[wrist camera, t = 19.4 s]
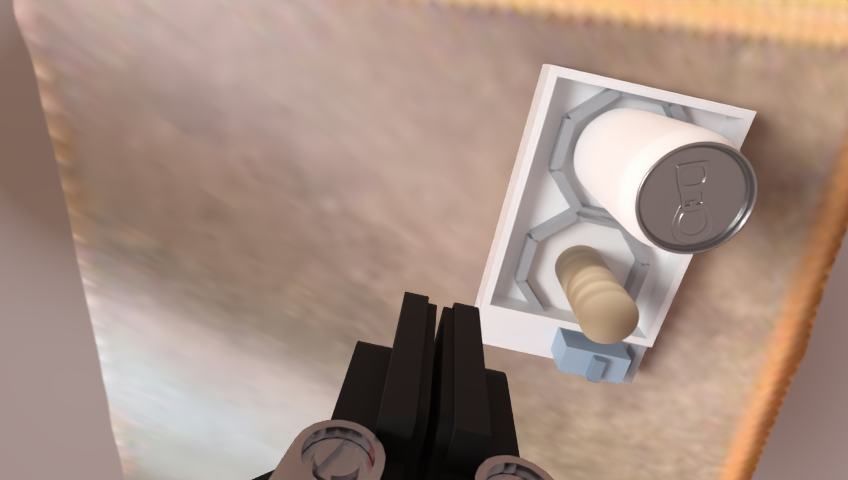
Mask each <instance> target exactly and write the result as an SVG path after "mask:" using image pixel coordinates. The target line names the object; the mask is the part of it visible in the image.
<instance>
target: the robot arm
mask: <svg viewBox="0 0 848 480" xmlns="http://www.w3.org/2000/svg"><path fill="white" fill-rule="evenodd" d="M428 300H429V297H428V296H423V295H419V294H414V293H409V292H405V294H404V299H403V303H402V308H401V312H400V317H399V321H398V326H397V330H396V335H395V339H394V344H393V348H389V347H384V346H380V345H375V344H371V343H366V342H361V341H358V342H357V344H356V347H355V350H354V353H353V356H352V359H351V362H350V365H349V368H348V371H347V374H346V377H345V380H344V383H343V385H342V388H341V391H340V394H339V397H338V400H337V403H336V406H335V409H334V412H333V415H332V418H331V420H326V421H322V422H318V423H314V424H313V425H311V426H309V427H307V428H306V429H304V430H303V431H302V432H301V433H300V434H299V435H298V436H297V437H296V438H295V440H294V441H293V443H292V444H291V446H290V447H289V449H288V450H287V452H286V454H285V455H284V457H283V458H282V460H281V461H280V463H279V464H278V466H277V467H276V469H275V470H273V471H271V472H268V473H266V474H264V475H261V476H259V477H257V478H255V479H252V480H554V479H553V478H552V477H551V476H550V475H549V474H548V473H547V472H546V471H544V470H543V469H541V468H540V467H539V466H537V465H536V464H534V463H532V462H529V461H527V460H525V459H523V458H520V456H519V450H518V444H517V438H516V431H515V425H514V419H513V413H512V407H511V401H510V395H509V388H508V382H507V377H506V374H505V373H504V372H500V371H496V370H491V369H486V368H485V363H484V353H483V343H482V332H481V322H480V312H479V308H478V307H474V306H469V305H464V304H460V303H454V305H453V307H452V308H448V307H444V308H443V311H442V315H441V319H440V322H439V326H438V330H437V334H436V338H435V326H436V311H437V305H435V304H430V303H428ZM434 340H435V342H434Z"/></svg>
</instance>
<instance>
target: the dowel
mask: <svg viewBox="0 0 848 480" xmlns="http://www.w3.org/2000/svg"><path fill="white" fill-rule="evenodd" d="M555 273H556V276H557V278H558V280H559V283H560V285H561V287H562V289H563V291H564V293H565V295H566V298H567V300H568V302H569V304H570V306H571V308H572V311H573V313H574V315H575V317H576V319H577V321H578V323H579V326H580V328H581V330H582V332H583V333H584V335H585V336H586V337H587V338H589V339H590V340H592V341H594V342H596V343H600V344H613V343H617V342H620V341H622V340H624V339H626V338H627V337H629V336H630V335H631V334H632V333H633V332H634V330H635V329H636V327H637V325H638V322H639V310H638V308H637V306H636V304H635V303H634V301H633V300H632V298H631V297H630V296H629V294H628V293H627V292H626V290H625V289H624V287H623V286H622V285H621V283H620V282H619V281H618V279H617V278H616V277H615V275H614V274H613V272H612V271H611V270H610V268H609V267H608V266H607V264H606V263H605V261H604V260H603V259H602V257H601V256H600V255H599V253H598V252H597V251H596V250H595V249H593V248H591V247H589V246H585V245H576V246H572V247H570V248H567V249H566V250H564V251H563V252H562V253H561V254H560V255H559V257H558V258H557V260H556V263H555Z"/></svg>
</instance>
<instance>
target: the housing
mask: <svg viewBox="0 0 848 480" xmlns="http://www.w3.org/2000/svg"><path fill="white" fill-rule="evenodd" d="M618 108H636V109H640V110H644V111H648V112H652V113H655V114H659V115H662V116H666V117H669V118H673V119H676V120H679V121H683V122H686V123H690V124H693V125H696V126H699V127H703V128H706V129H709V130H711V131H714V132H716V133H719V134H721V135H722V136H724V137H726V138H727V139H729V140H730V141H731V142H732V143H733V144H734V145H735V146H736V147H737V148H738V149H739V150H740V148H741V146H742V144H743V141H744V139H745V137H746V135H747V133H748V130H749V128H750V126H751V124H752V121H753V119H754V117H755V115H756V111H752V110H747V109H743V108H738V107H734V106H730V105H725V104H721V103H717V102H712V101H708V100H704V99H699V98H695V97H690V96H686V95H682V94H677V93H673V92H669V91H664V90H660V89H656V88H651V87H647V86H642V85H638V84H634V83H629V82H625V81H621V80H616V79H612V78H608V77H603V76H599V75H594V74H590V73H586V72H581V71H577V70H573V69H568V68H564V67H560V66H555V65H550V64H543V66H542V70H541V73H540V77H539V80H538V84H537V87H536V91H535V94H534V98H533V101H532V105H531V108H530V112H529V115H528V119H527V123H526V126H525V130H524V133H523V137H522V140H521V144H520V147H519V151H518V154H517V158H516V161H515V165H514V168H513V172H512V176H511V179H510V183H509V186H508V190H507V193H506V197H505V200H504V204H503V207H502V211H501V214H500V218H499V221H498V225H497V228H496V232H495V236H494V239H493V243H492V246H491V250H490V253H489V257H488V260H487V264H486V267H485V271H484V274H483V278H482V281H481V285H480V289H479V292H478V296H477V299H476V303H475V306H474V307H478V308H479V312H480V322H481V332H482V343H483V344H488V345H493V346H497V347H502V348H506V349H511V350H516V351H520V352H525V353H529V354H534V355H539V356H543V357H548V358H553V359H554V357H553V354H552V351H551V347H552V344H553V341H554V338H555V335H556V333H557V330H558V327H561V328H565V329H570V330H574V331H579V332H582V330H581V328H580V326H579V323H578V321H577V319H576V317H575V315H574V313H573V311H572V308H571V306H570V304H569V302H568V300H567V298H566V295H565V293H564V291H563V289H562V287H561V285H560V283H559V280H558V278H557V276H556V273H555V263H556V260H557V258H558V257H559V255H560V254H561V253H562V252H563V251H564V250H566V249H567V248H570V247H572V246H576V245H585V246H589V247H591V248H593V249H595V250H596V251H597V252H598V253H599V255H600V256H601V257H602V259H603V260H604V261H605V263H606V264H607V266H608V267H609V268H610V270H611V271H612V272H613V274H614V275H615V277H616V278H617V279H618V281H619V282H620V283H621V285H622V286H623V287H624V289H625V290H626V292H627V293H628V294H629V296H630V297H631V298H632V300H633V301H634V303H635V304H636V306H637V308H638V310H639V322H638V325H637V327H636V329H635V330H634V332H633V333H632V334H631V335H630V336H629V337H627V338H626V339H624V340H622V341H620V342H621V344H622V345H623V347H624V349H625V350H626V352H627V354H628V356H629V357H630V359H631V362H630V365H629V367H628V369H627V372H626V374H625V376H624V379H623V381H624V382H628V383H632V380H633V378H634V376H635V374H636V371H637V369H638V367H639V365H640V362H641V360H642V358H643V356H644V353H645V351H646V349H647V346H648V347H652V346H653V343H654V341H655V339H656V337H657V334H658V332H659V330H660V328H661V326H662V323H663V321H664V319H665V317H666V314H667V312H668V310H669V308H670V305H671V303H672V301H673V299H674V296H675V294H676V292H677V290H678V287H679V285H680V283H681V281H682V278H683V276H684V274H685V272H686V269H687V267H688V265H689V263H690V260H691V258H692V256H693V254H676V253H671V252H668V251H665V250H662V249H657V248H654V247H651V246H648V245H646V244H644V243H642V242H641V241H639V240H638V239H636V238H635V237H634V236H632V235H631V234H630V233H629V232H628V231H627V230H626V229H625V228H624V227H623V226H622V225H621V224H620V223H619V222H618V221H617V220H616V219H615V218H614V217H613V216H612V215H611V214H610V213H609V212H608V211H607V210H606V209H605V208H604V207H603V206H602V205H601V204H600V203H599V202H598V201H597V200H596V199H595V198H594V197H593V196H592V195H591V194H590V193H589V191H588V190H587V189H586V188H585V187H584V186H583V185H582V183H581V182H580V180H579V179H578V177H577V174H576V171H575V168H574V151H575V146H576V143H577V141H578V139H579V137H580V135H581V133H582V132H583V130H584V129H585V128H586V126H587V125H588V124H589V123H590V122H591V121H593V120H594V119H595V118H597V117H598V116H600V115H601V114H603V113H605V112H608V111H610V110H614V109H618Z"/></svg>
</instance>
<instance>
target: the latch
mask: <svg viewBox="0 0 848 480" xmlns="http://www.w3.org/2000/svg"><path fill="white" fill-rule="evenodd" d="M551 351H552V354H553V357H554V360H555V363H556V366H557V369H558V371H563V372H567V373H572V374H577V375H581V376H586V377H587V379H588V381H593V382H597V383H598V382H599V380H604V381H609V382H614V383H618V384H621V383H622V381H623V379H624V376H625V374H626V372H627V369H628V367H629V365H630V362H631V359H630V357H629V356H628V354H627V352H626V350H625V349H624V347H623V345H622V344H621V342H617V343H613V344H600V343H596V342H594V341H592V340H590V339H589V338H587V337H586V336H585V335H584V333H583V332H579V331H574V330H570V329H565V328H561V327H558V330H557V333H556V335H555V338H554V341H553V344H552V347H551Z"/></svg>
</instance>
